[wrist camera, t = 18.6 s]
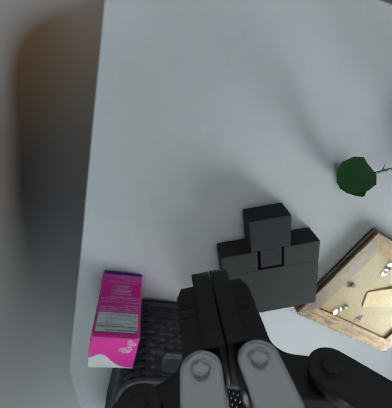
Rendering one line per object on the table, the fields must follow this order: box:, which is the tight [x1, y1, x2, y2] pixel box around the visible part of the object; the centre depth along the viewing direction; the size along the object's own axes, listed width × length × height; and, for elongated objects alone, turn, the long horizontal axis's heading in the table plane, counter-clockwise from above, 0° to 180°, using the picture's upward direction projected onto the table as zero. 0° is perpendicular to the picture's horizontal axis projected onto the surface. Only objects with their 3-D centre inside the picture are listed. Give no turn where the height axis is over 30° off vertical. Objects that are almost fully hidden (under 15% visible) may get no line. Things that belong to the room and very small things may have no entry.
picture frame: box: [295, 229, 392, 352], centre depth 52 cm, size 19×2×24 cm
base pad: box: [217, 227, 320, 312], centre depth 45 cm, size 14×12×4 cm
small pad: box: [243, 203, 291, 268], centre depth 42 cm, size 6×8×4 cm
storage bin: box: [105, 301, 243, 408], centre depth 49 cm, size 29×19×13 cm
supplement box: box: [87, 271, 142, 368], centre depth 41 cm, size 6×6×12 cm
